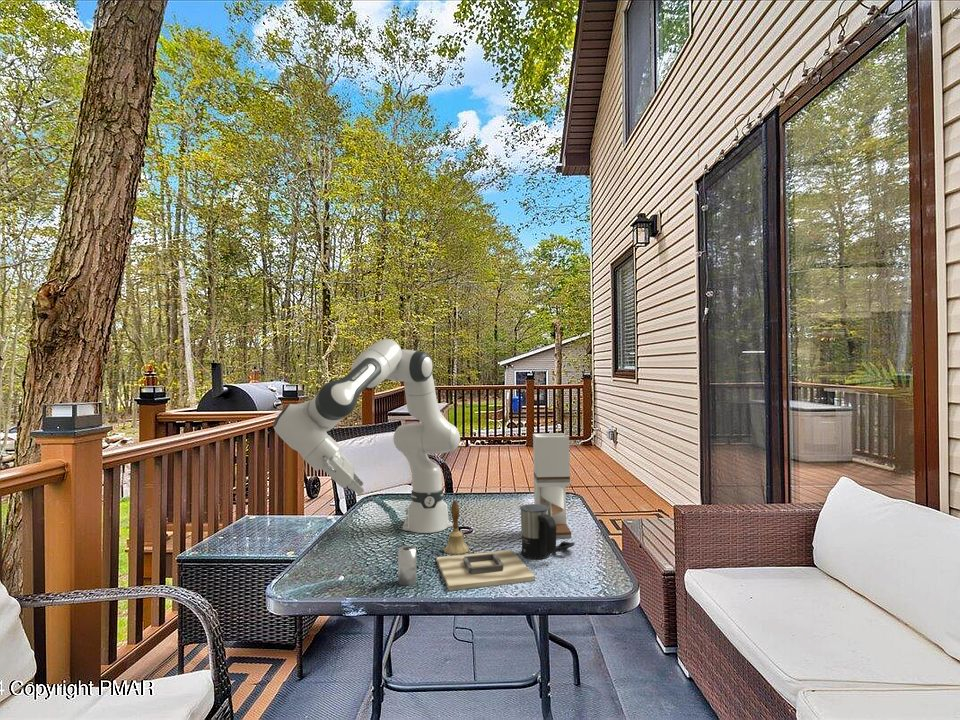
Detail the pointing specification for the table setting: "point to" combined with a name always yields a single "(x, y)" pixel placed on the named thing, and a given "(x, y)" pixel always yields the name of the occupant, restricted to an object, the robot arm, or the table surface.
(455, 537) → the hand bell
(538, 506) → the milk frother
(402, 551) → the sleeve
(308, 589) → the table surface
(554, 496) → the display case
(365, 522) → the table surface
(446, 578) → the hub board
